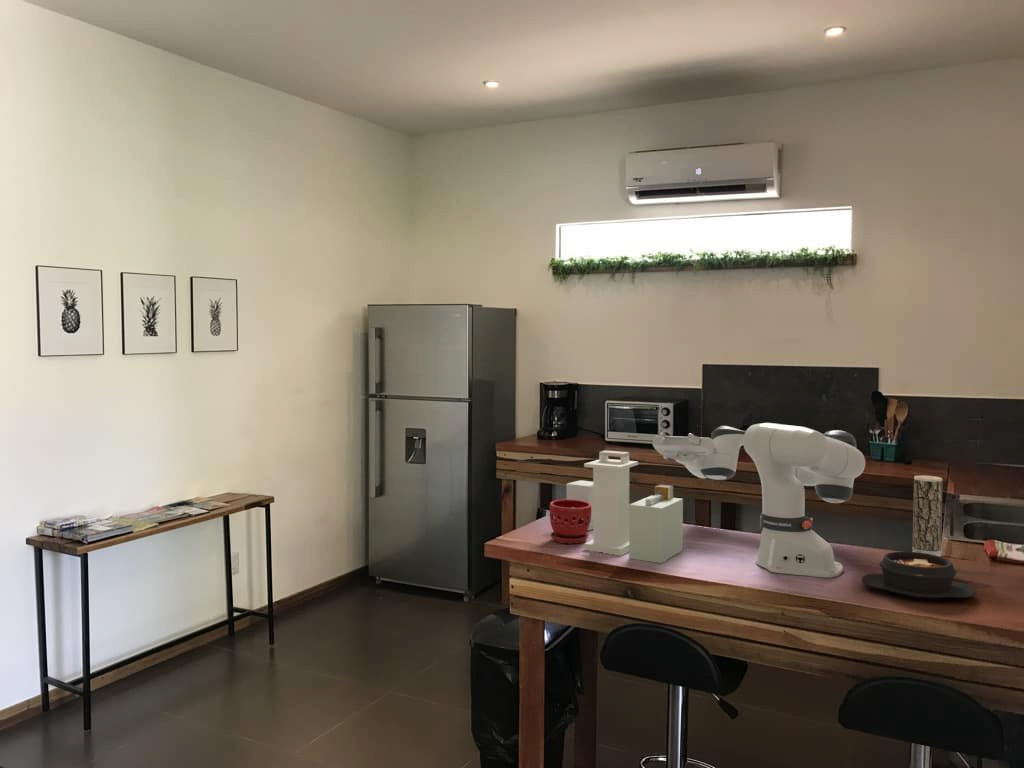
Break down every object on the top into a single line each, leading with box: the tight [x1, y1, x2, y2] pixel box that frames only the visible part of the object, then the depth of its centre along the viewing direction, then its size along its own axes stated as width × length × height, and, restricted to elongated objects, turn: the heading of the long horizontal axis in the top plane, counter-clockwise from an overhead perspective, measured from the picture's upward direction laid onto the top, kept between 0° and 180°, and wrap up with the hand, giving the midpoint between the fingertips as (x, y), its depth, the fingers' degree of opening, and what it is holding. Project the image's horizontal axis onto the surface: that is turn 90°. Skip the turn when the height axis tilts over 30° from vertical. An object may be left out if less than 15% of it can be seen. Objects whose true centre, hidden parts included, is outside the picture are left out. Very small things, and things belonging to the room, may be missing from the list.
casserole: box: [861, 551, 977, 600], centre depth 195 cm, size 25×19×8 cm
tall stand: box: [583, 449, 639, 557], centre depth 238 cm, size 12×12×29 cm
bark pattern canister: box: [912, 475, 943, 557], centre depth 214 cm, size 7×7×25 cm
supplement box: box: [565, 479, 593, 532], centre depth 267 cm, size 9×9×15 cm
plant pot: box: [549, 498, 592, 545], centre depth 248 cm, size 13×13×12 cm
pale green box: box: [628, 495, 684, 564], centre depth 231 cm, size 10×16×16 cm, turn 147°
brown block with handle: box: [646, 484, 674, 505], centre depth 232 cm, size 4×14×4 cm, turn 147°
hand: (676, 435), depth 257 cm, fingers open, 8 cm apart
